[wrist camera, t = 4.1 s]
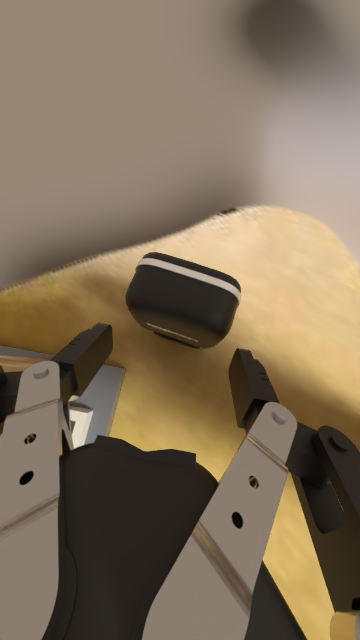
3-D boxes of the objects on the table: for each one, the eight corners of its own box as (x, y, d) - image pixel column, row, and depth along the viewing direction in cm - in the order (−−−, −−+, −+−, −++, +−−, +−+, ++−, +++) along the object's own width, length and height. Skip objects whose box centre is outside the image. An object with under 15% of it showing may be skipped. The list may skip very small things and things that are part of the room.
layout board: (125, 368, 19) (118, 368, 17) (76, 562, 15) (58, 598, 12) (-15, 342, 19) (-41, 338, 17) (-102, 523, 15) (-151, 550, 13)
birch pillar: (87, 367, 18) (-44, 366, 7) (77, 398, 17) (-86, 449, 6) (40, 358, 18) (-157, 344, 7) (28, 389, 17) (-212, 423, 7)
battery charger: (144, 337, 20) (105, 299, 9) (157, 307, 21) (135, 240, 10) (203, 358, 19) (237, 345, 8) (212, 326, 20) (255, 278, 9)
